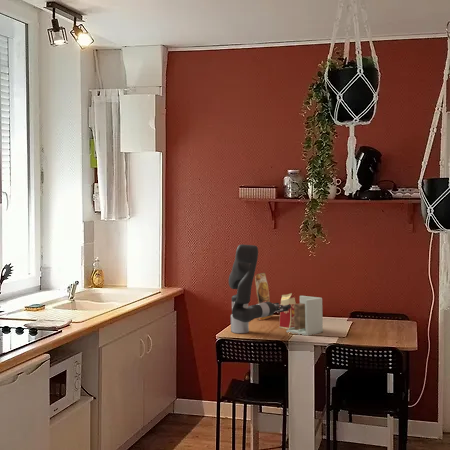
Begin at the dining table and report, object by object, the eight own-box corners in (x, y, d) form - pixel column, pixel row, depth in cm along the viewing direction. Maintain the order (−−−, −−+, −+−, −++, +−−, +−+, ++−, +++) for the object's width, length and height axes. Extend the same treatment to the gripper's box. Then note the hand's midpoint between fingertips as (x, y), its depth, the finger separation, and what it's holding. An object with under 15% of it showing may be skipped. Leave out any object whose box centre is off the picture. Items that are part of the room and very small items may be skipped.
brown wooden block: (294, 329, 396) (294, 304, 396) (301, 328, 400) (301, 303, 400) (300, 330, 393) (299, 305, 393) (307, 329, 397) (306, 303, 397)
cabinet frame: (286, 332, 395) (285, 298, 395) (301, 329, 404) (301, 295, 404) (307, 335, 384) (306, 300, 384) (322, 332, 393) (322, 297, 393)
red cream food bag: (299, 327, 410) (299, 292, 410) (289, 329, 404) (289, 294, 403) (287, 325, 417) (286, 291, 416) (277, 327, 410) (276, 293, 409)
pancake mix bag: (251, 320, 437) (250, 274, 436) (265, 315, 453) (264, 271, 452) (261, 321, 433) (260, 275, 432) (274, 316, 450) (274, 271, 449)
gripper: (273, 304, 370) (294, 300, 381) (253, 301, 381) (274, 297, 392) (273, 318, 371) (294, 314, 382) (254, 315, 381) (274, 310, 392)
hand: (284, 305), depth 387 cm, fingers open, 8 cm apart
